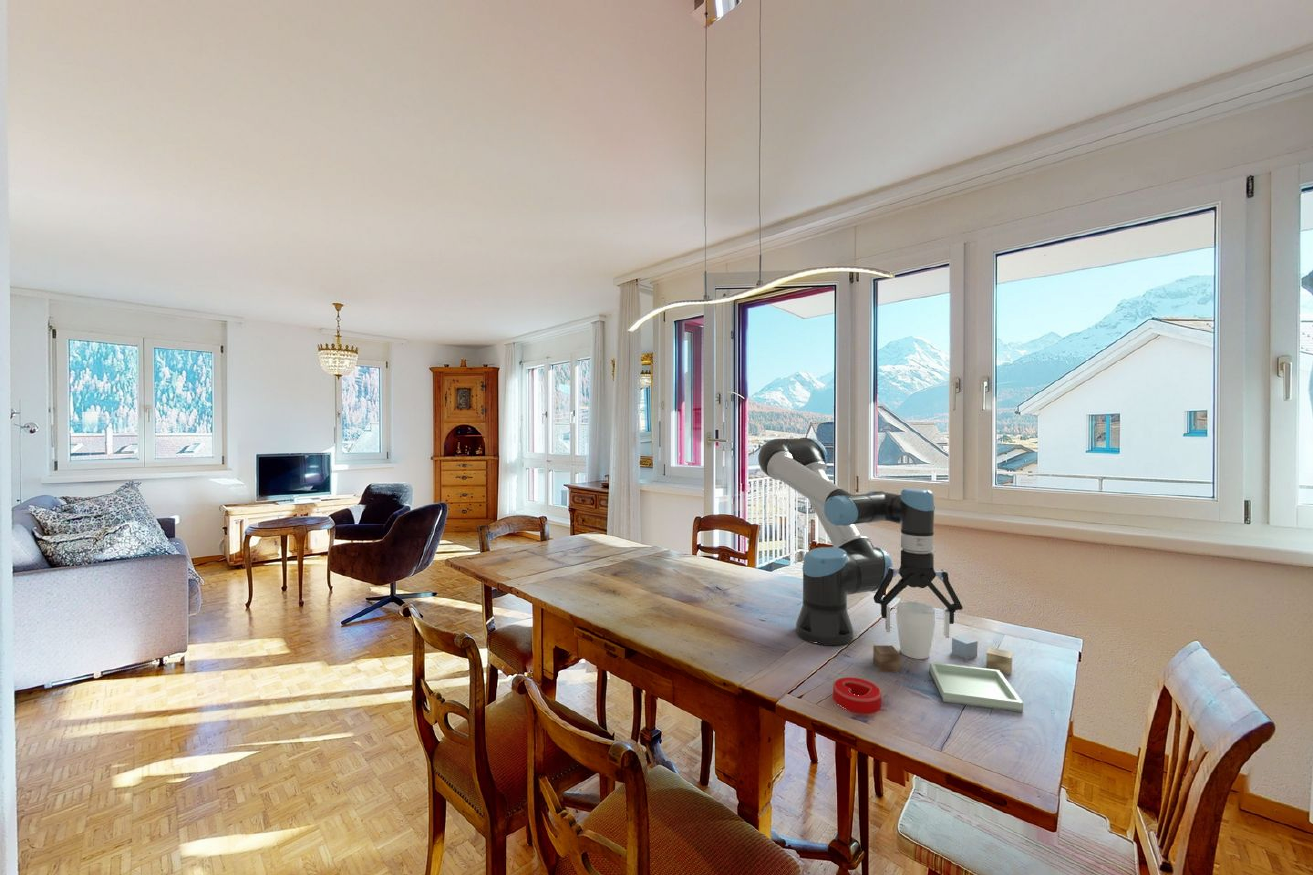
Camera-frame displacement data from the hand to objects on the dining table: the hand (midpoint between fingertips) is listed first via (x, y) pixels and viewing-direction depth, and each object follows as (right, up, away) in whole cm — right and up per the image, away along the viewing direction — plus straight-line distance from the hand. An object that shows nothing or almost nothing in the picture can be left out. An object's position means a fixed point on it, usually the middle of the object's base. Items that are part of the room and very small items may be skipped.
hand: (916, 633), depth 136 cm
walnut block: (-11, -6, -7) cm, 14 cm away
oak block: (+16, -6, -7) cm, 19 cm away
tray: (+4, -6, -17) cm, 19 cm away
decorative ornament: (-23, -7, -22) cm, 33 cm away
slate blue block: (+12, -6, 0) cm, 13 cm away
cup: (0, -6, +1) cm, 6 cm away
